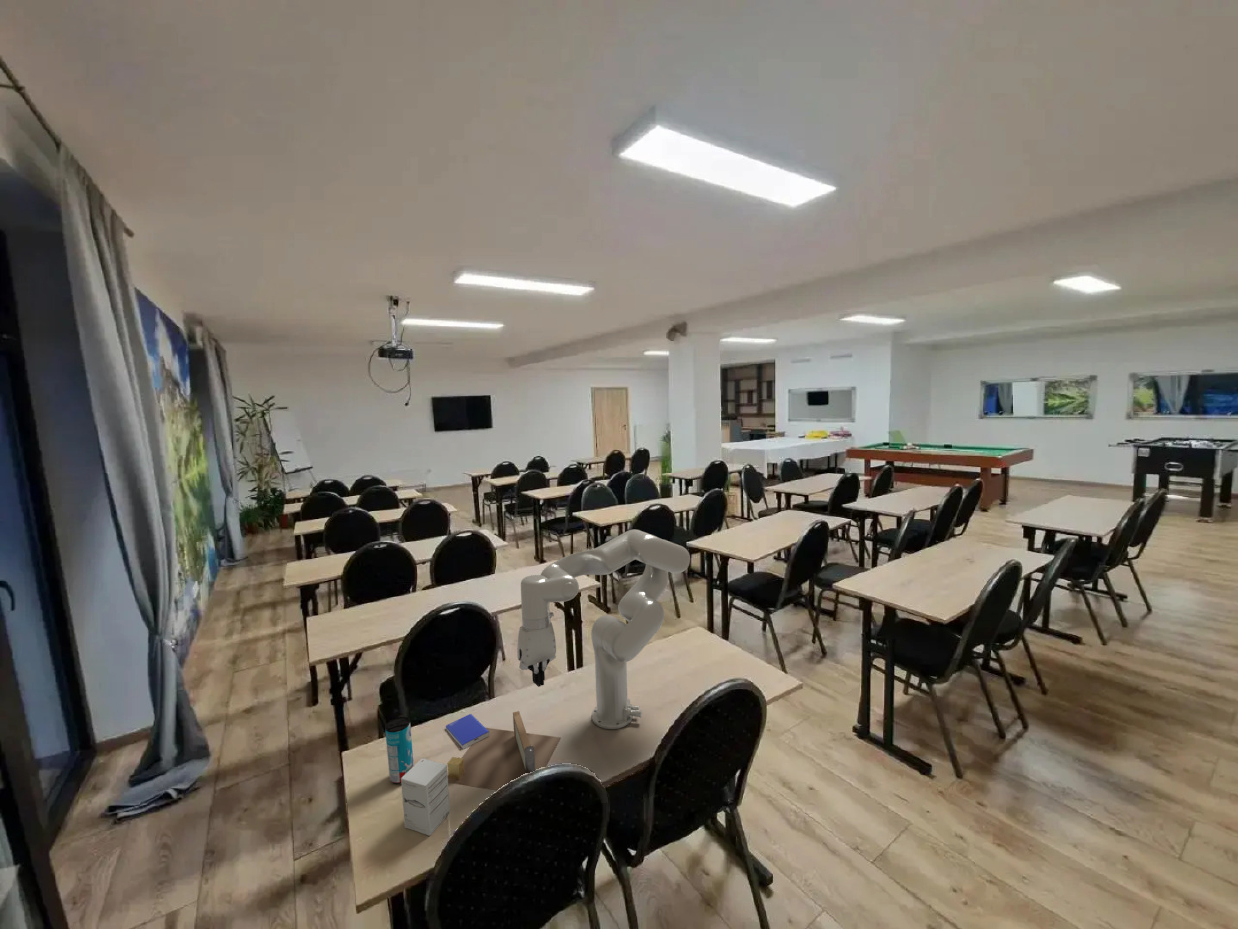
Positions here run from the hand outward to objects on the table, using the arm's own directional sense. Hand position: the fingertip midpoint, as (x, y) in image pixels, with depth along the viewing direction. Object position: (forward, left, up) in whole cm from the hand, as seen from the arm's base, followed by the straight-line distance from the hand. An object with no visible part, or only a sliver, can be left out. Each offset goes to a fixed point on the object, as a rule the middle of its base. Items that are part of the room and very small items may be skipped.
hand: (538, 683), depth 140 cm
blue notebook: (+23, 0, -18) cm, 30 cm away
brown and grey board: (+3, +6, -17) cm, 18 cm away
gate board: (+7, +8, -18) cm, 21 cm away
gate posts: (+7, +15, -18) cm, 24 cm away
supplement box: (+16, +30, -19) cm, 39 cm away
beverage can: (+31, +19, -19) cm, 41 cm away
